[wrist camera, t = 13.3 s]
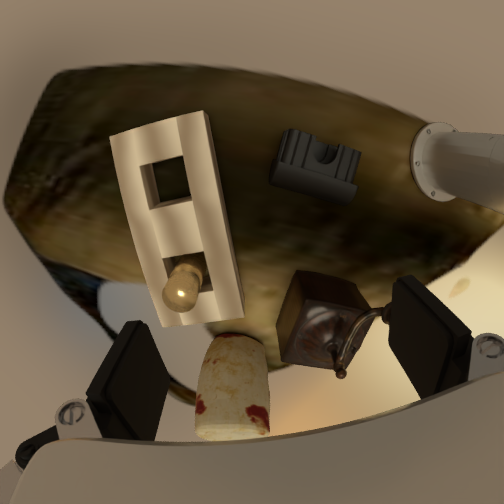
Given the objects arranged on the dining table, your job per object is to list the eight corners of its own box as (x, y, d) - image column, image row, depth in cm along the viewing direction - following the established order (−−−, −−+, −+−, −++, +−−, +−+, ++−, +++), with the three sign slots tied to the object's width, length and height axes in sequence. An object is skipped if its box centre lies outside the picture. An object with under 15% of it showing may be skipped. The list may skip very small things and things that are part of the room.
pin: (204, 244, 41) (191, 278, 31) (210, 270, 42) (200, 310, 32) (177, 249, 41) (157, 284, 31) (184, 274, 42) (167, 314, 32)
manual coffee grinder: (334, 336, 47) (367, 416, 30) (273, 325, 46) (286, 412, 29) (371, 254, 42) (433, 315, 25) (305, 235, 41) (344, 297, 24)
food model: (267, 329, 46) (278, 430, 27) (261, 360, 48) (268, 457, 29) (207, 323, 45) (188, 422, 27) (205, 354, 48) (189, 451, 29)
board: (208, 115, 35) (202, 110, 30) (244, 299, 44) (244, 317, 39) (125, 137, 35) (109, 136, 30) (170, 309, 44) (162, 327, 40)
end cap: (266, 180, 38) (270, 187, 32) (280, 130, 36) (287, 126, 29) (335, 200, 39) (351, 211, 33) (349, 152, 37) (368, 154, 30)
